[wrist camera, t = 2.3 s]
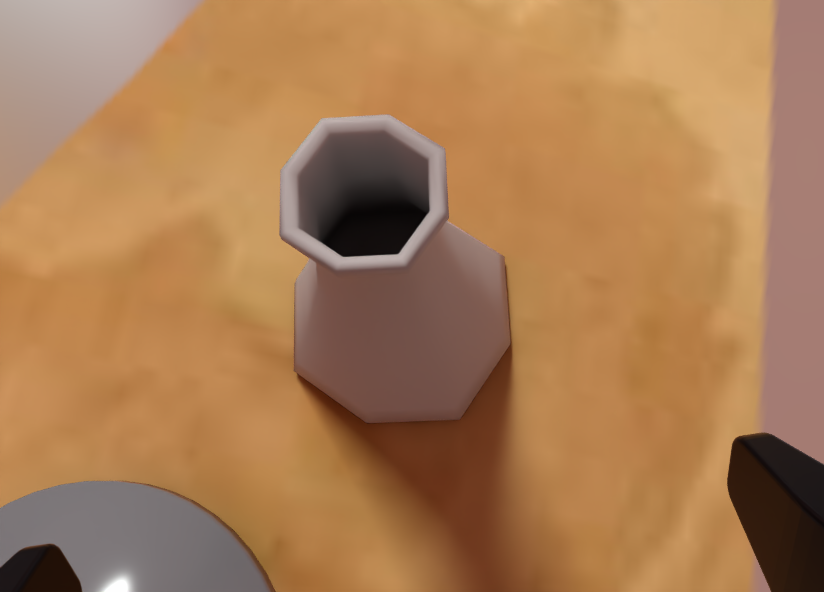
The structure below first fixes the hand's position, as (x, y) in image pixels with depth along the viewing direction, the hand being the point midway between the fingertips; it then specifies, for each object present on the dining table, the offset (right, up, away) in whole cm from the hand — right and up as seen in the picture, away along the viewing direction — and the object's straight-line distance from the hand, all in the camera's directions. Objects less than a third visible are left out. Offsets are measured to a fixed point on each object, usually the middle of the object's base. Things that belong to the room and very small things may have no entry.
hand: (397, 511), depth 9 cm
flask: (0, +2, +13) cm, 13 cm away
